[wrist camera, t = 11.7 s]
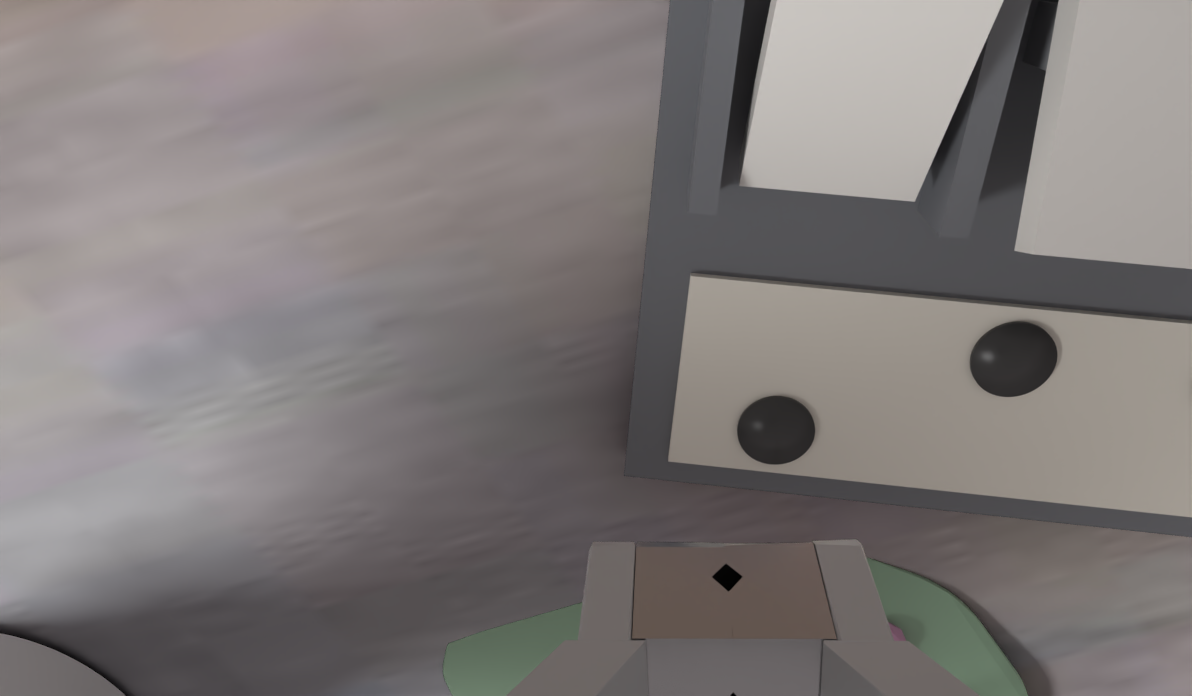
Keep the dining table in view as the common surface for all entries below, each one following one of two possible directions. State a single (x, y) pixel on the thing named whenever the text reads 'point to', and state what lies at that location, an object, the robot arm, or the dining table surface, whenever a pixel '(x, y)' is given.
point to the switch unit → (898, 316)
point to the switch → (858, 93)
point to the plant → (909, 601)
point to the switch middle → (1114, 136)
